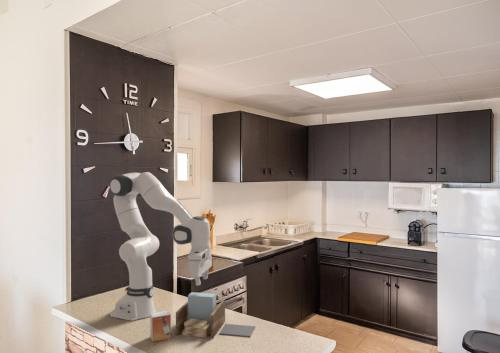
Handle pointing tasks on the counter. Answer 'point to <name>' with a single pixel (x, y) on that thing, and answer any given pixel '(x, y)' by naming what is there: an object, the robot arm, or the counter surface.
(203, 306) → the pale blue upright block
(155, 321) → the small box
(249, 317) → the counter surface
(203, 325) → the offcut stack
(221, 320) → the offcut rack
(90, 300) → the counter surface
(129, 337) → the counter surface
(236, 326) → the rubber mat
